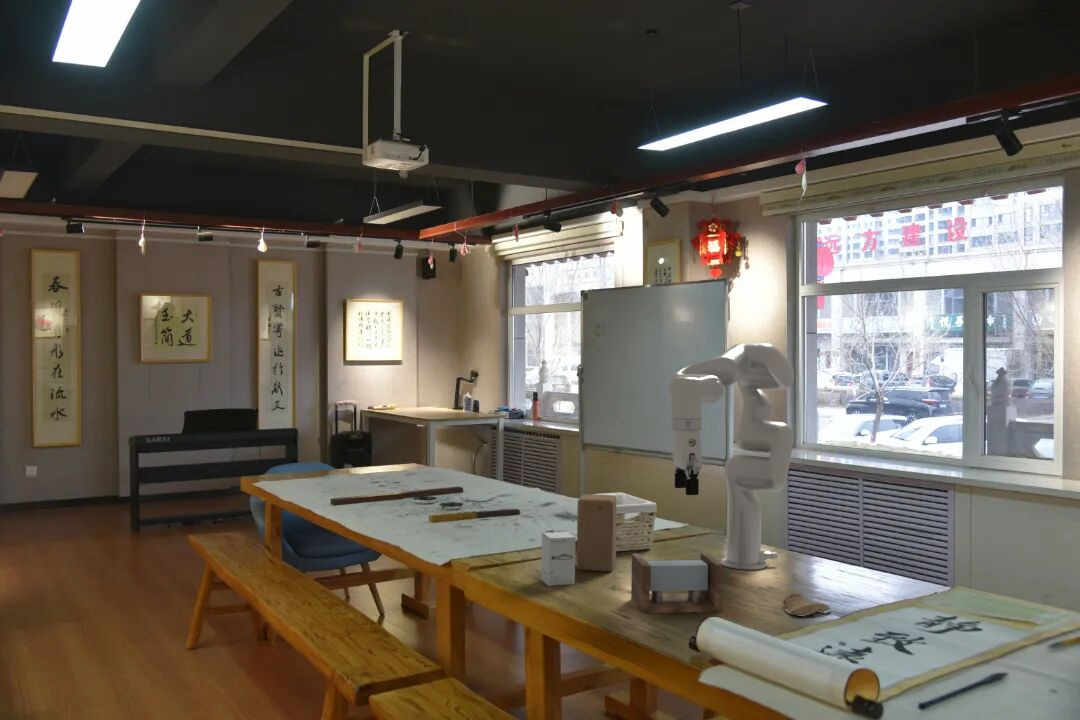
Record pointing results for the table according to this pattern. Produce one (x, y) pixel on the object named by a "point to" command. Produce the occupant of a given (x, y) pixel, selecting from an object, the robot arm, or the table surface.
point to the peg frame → (676, 601)
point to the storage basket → (633, 522)
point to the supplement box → (558, 558)
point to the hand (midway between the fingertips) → (686, 491)
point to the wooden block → (596, 532)
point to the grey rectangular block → (678, 575)
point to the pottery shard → (802, 605)
